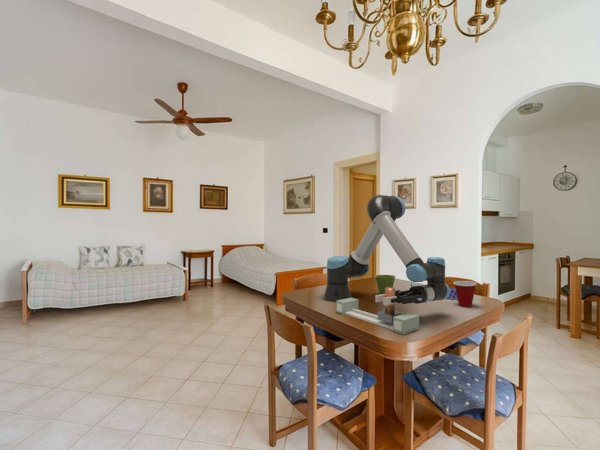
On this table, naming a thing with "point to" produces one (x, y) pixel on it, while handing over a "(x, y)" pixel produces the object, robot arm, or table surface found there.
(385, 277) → the plant pot
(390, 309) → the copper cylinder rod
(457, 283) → the plastic cup
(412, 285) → the ceramic mug
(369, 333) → the table surface
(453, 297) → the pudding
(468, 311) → the table surface
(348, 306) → the rail board
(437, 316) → the table surface
